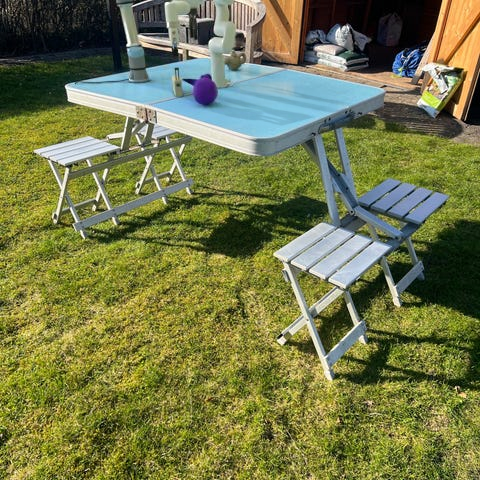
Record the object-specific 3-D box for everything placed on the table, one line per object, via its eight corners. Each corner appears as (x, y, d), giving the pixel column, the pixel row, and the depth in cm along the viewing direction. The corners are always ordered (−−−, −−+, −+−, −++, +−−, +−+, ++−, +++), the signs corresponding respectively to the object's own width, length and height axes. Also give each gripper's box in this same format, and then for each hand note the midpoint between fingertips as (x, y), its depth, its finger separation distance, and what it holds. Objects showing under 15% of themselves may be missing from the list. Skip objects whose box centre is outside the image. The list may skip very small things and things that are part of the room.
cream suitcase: (182, 96, 293) (181, 81, 289) (175, 96, 292) (174, 82, 288) (180, 90, 308) (178, 76, 303) (173, 91, 307) (172, 77, 302)
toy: (205, 96, 290) (217, 110, 270) (179, 91, 283) (189, 106, 262) (211, 71, 282) (224, 84, 262) (184, 66, 275) (195, 79, 254)
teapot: (226, 72, 363) (226, 52, 355) (220, 70, 372) (219, 50, 364) (249, 69, 372) (249, 50, 365) (242, 67, 381) (241, 48, 373)
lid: (181, 81, 288) (180, 67, 284) (174, 82, 287) (173, 68, 283) (178, 76, 303) (177, 63, 299) (172, 77, 302) (170, 63, 298)
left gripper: (200, 8, 326) (202, 40, 337) (193, 6, 346) (195, 36, 357) (190, 8, 324) (192, 40, 335) (183, 7, 344) (185, 37, 355)
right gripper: (180, 26, 266) (182, 56, 275) (177, 23, 281) (179, 52, 289) (167, 26, 265) (170, 57, 274) (165, 24, 279) (168, 53, 288)
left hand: (193, 38), depth 346 cm, fingers open, 13 cm apart
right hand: (175, 55), depth 281 cm, fingers open, 9 cm apart
